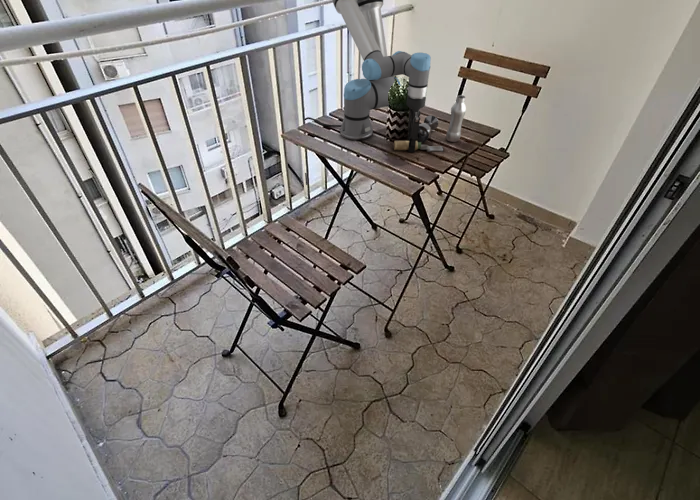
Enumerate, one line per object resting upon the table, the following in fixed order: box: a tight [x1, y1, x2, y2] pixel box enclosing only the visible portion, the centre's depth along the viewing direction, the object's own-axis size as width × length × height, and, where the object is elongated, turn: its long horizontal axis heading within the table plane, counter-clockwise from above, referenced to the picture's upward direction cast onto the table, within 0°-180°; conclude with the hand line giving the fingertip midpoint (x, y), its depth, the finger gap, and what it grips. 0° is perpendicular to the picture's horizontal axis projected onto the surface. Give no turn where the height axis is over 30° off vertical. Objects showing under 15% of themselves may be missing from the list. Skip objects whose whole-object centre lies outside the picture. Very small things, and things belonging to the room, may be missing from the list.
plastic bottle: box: [445, 94, 467, 143], centre depth 172 cm, size 6×7×20 cm
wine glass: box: [416, 114, 439, 144], centre depth 179 cm, size 8×8×15 cm
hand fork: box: [393, 140, 444, 152], centre depth 171 cm, size 22×4×4 cm, turn 91°
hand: (410, 149), depth 172 cm, fingers closed on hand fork, 4 cm apart
